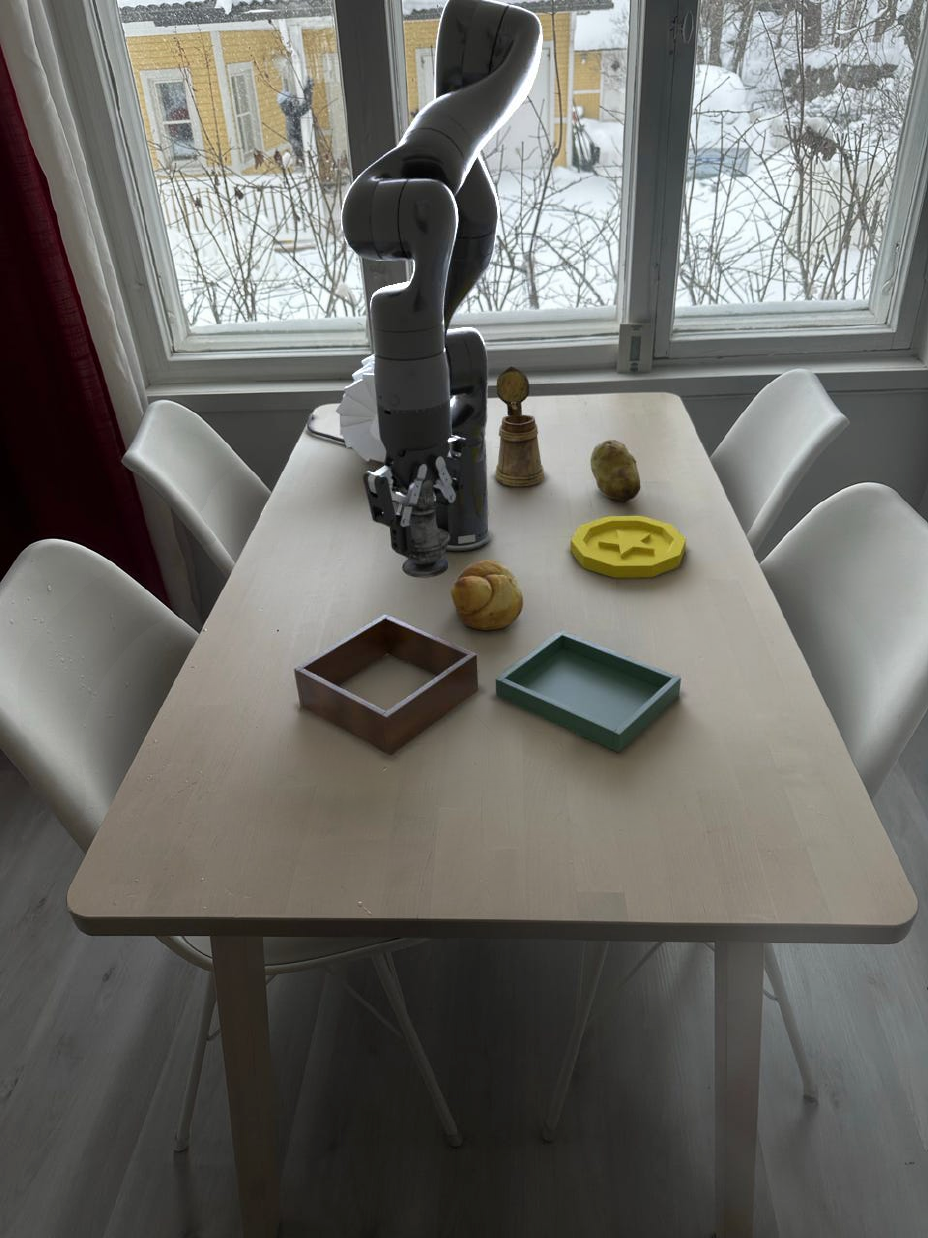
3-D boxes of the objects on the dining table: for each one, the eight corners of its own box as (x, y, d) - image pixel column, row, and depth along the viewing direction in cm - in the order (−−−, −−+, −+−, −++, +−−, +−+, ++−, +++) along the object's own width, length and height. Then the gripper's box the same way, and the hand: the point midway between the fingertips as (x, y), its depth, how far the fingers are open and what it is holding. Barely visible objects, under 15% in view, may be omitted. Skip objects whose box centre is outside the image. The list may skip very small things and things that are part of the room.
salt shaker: (444, 581, 101) (438, 479, 95) (393, 577, 102) (383, 476, 96) (456, 555, 106) (451, 457, 100) (407, 552, 107) (399, 455, 101)
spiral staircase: (364, 488, 179) (382, 435, 199) (443, 451, 173) (454, 400, 194) (312, 408, 170) (337, 361, 191) (394, 365, 164) (411, 322, 185)
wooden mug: (535, 457, 178) (535, 364, 169) (548, 484, 167) (548, 386, 157) (489, 460, 178) (487, 367, 168) (499, 488, 166) (496, 390, 157)
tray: (495, 696, 113) (495, 679, 112) (560, 646, 122) (560, 630, 121) (618, 753, 103) (619, 734, 102) (679, 695, 112) (681, 677, 111)
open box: (299, 705, 113) (293, 668, 111) (388, 648, 123) (385, 613, 120) (390, 756, 105) (386, 717, 102) (478, 690, 114) (477, 653, 112)
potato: (591, 506, 158) (593, 462, 154) (588, 476, 169) (590, 434, 165) (640, 506, 157) (643, 462, 153) (634, 476, 168) (637, 434, 164)
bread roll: (455, 590, 136) (453, 541, 132) (522, 588, 135) (521, 539, 131) (451, 637, 125) (448, 586, 121) (523, 636, 124) (523, 584, 120)
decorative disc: (608, 517, 154) (608, 506, 153) (704, 545, 144) (705, 534, 143) (550, 556, 143) (550, 545, 142) (650, 589, 134) (650, 577, 133)
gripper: (434, 370, 100) (442, 511, 109) (335, 407, 91) (353, 557, 100) (487, 382, 96) (491, 528, 105) (388, 422, 87) (402, 578, 96)
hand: (423, 542), depth 102 cm, fingers closed on salt shaker, 6 cm apart
